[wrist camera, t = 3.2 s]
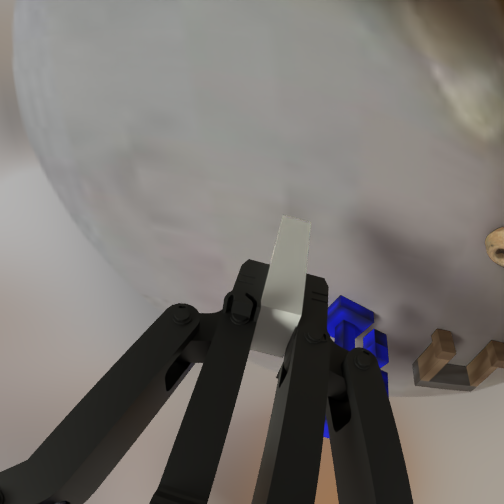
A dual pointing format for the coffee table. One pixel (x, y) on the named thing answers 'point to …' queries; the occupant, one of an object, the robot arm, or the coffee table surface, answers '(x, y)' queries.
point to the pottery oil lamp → (496, 246)
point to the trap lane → (453, 376)
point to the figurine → (355, 333)
